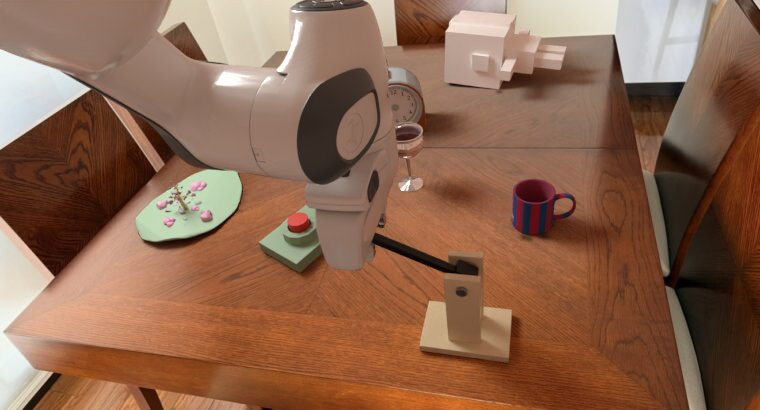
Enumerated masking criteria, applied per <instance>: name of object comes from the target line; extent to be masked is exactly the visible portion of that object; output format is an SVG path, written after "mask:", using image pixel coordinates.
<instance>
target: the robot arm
mask: <svg viewBox="0 0 760 410" xmlns="http://www.w3.org/2000/svg"><path fill="white" fill-rule="evenodd" d="M172 1H173V0H0V50H1V51H4V52H6V53H9V54H11V55H14V56H17V57H19V58H22V59H24V60H26V61H30V62H33V63H35V64H40V65H42V66H45V67H49V68H51V69H54V70H56V71H59V72H61V73H62V74H64V75H66V76H67V77H69V78H71V79H72V80H74V81H76V82H78V83H80V84H81V85H83V86H85V87H87V88H88V89H90V90H92V91H93V92H95V93H97V94H99V95H101V96H102V97H104V98H105V99H108V101H109V100H110V101H111V102H113V103H115V104H117V105H119V106H120V107H121V108H123V109H125V110H127V111H129V112H130V113H132V114H133V115H135V116H137V117H139V118H141V119H142V120H144V121H145V122H146V123H148V124H149V125H150V126H151V127H152V128H153V129H154V130H155V131H156V132H157V133H158V134H159V135H160V137H161V138H162V139H163V140H164V141H165V143H166V144H167V145H168V146H169V148H170V149H171V151H173V153H175V155H176V156H177V157H178V158H179V159H181V160H182V161H183V162H184V163H186V164H188V165H189V166H191V167H193V168H196V169H201V170H208V169H210V170H221V171H235V172H237V173H241V174H245V175H247V174H248V175H253V176H259V177H264V178H269V179H277V180H284V181H290V182H295V183H303V184H306V186H305V189H304V200H305V205H307V206H308V207H309V208H314V209H315V225H316V231H317V234H318V238H319V241H320V245H321V248H322V251H323V253H322V254H323V257H324V259H325V262H326V264H327V266H329V267H330V268H332V269H335V270H339V271H350V272H351V271H353V272H356V271H361V270H362V269H363V268H364V266H365V263H372V262H374V260H375V257H376V253H377V250H376V245H375V244H372V240H373V237H374V234H375V232H376V231H377V229H378V228H379V229H383V228H385V226H386V224H387V221H388V214H387V208H388V206H387V204H388V197H389V195H390V192H391V189H392V186H393V184H394V181H395V179H396V178H395V177H396V175H397V172H398V169H399V158H400V157H399V156H398V148H397V140H396V132H395V124H394V117H393V113H392V111H391V109H390V107H389V104H388V99H387V95H388V89H389V76H388V69H387V67H388V65H387V64H388V62H387V63H386V59H387V57H386V52H385V46H384V43H383V38H382V33H381V30H380V26H379V22H378V19H377V16H376V14H375V11H374V9H373V7H372V5H371V3H369V2H368V1H366V0H300V1H297V2H296V3H295V4H294V5H292V6H291V7H290V8H289V11H288V24H289V25H288V26H289V36H290V44H289V47H288V50H287V53H286V55H285V57H284V58H283V60H282V62H281V63H280V65H279V66H278V67H276V68H275V67H265V66H264V67H263V66H249V65H237V64H236V65H235V64H229V63H225V62H224V63H223V62H219V61H218V62H216V61H211V60H210V61H208V60H202V59H201V60H198V59H193V58H191V57H189V56H187V55H186V54H185V53H184V52H182V51H181V50H180V49H179V48H177V46H175V45H174V44H173V43H172V42H170V40H169V39H167V38H166V37H165V36H163V35H162V34H161V33H160V32H159V31H158V30H159V28H160V26H161V25H162V23H163V22H164V19H165V18H166V16H167V14H168V11H169V9H170V6H171V4H172Z"/></svg>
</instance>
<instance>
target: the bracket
mask: <svg viewBox="0 0 760 410" xmlns="http://www.w3.org/2000/svg"><path fill="white" fill-rule="evenodd" d="M458 260H462V261H464V262H467V263H469V264H472V265H474V266H476V267H479V273H478V276H473V275H462V274H451V273H443V279H442V280H443V281H442V282H443V292H444V293H443V294H444V301H437V300H428V304H427V308H426V313H425V317H424V322H423V326H422V330H421V336H420V339H419V340H420V341H419V345H418V347H419V351H421V352H428V353H434V354H441V355H449V356H456V357H464V358H469V359H470V358H471V359H479V360H484V361H485V360H486V361H492V362H501V363H507V364H508V363H510V351H511V350H510V349H511V336H512V321H513V309H508V308H500V307H492V306H491V307H490V306H485V252H483V251H469V250H458V249H457V250H456V249H448V254H447V262H449V263H451V264H453V265H456V263H457V262H458Z"/></svg>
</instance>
